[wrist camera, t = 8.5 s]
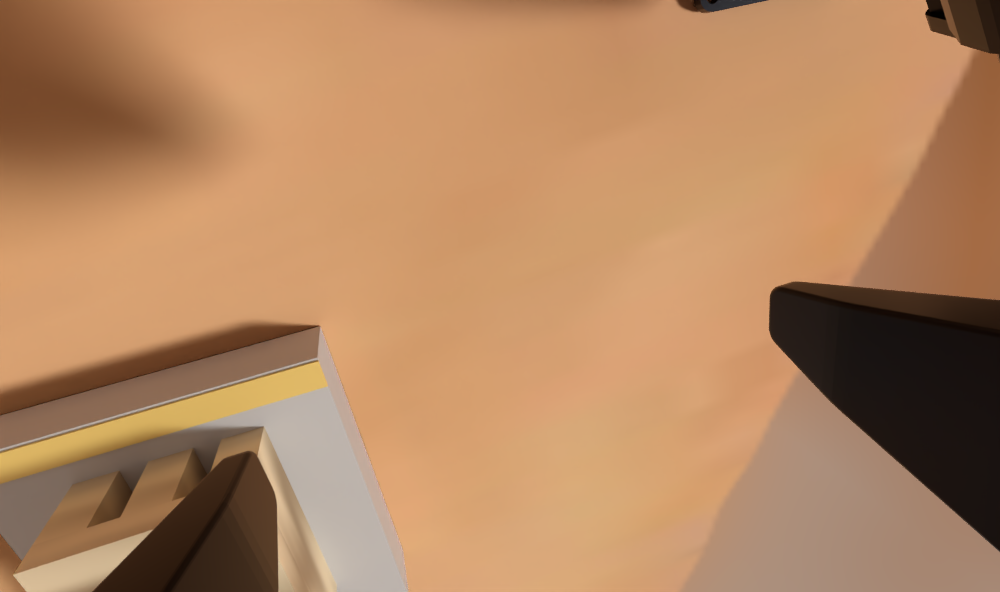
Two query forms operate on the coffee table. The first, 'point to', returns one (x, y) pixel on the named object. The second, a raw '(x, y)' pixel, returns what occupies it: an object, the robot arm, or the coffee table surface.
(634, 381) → the coffee table surface
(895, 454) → the robot arm
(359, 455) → the dock
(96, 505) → the pallet
